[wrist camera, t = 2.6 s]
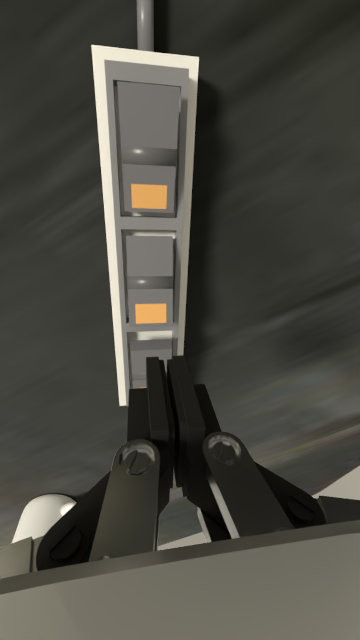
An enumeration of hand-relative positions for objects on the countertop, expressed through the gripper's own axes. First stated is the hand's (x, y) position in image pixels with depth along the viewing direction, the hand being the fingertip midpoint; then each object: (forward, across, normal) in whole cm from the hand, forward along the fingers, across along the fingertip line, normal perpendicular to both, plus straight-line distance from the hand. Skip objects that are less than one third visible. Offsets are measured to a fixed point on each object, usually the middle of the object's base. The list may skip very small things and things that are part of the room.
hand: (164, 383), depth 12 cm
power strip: (+19, 0, -3) cm, 20 cm away
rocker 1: (+14, 0, -10) cm, 18 cm away
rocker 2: (+14, 0, 0) cm, 14 cm away
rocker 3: (+14, 0, +10) cm, 18 cm away
